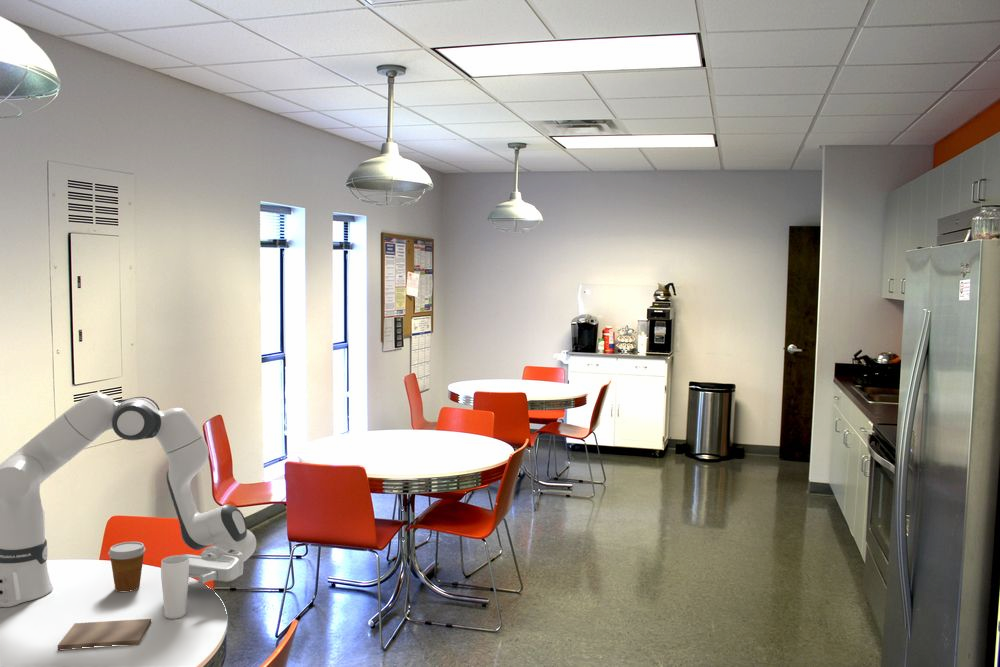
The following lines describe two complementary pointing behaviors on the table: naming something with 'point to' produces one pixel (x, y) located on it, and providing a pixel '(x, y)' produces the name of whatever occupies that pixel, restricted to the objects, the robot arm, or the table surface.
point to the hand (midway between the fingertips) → (185, 578)
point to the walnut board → (105, 633)
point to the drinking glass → (175, 585)
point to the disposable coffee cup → (127, 564)
